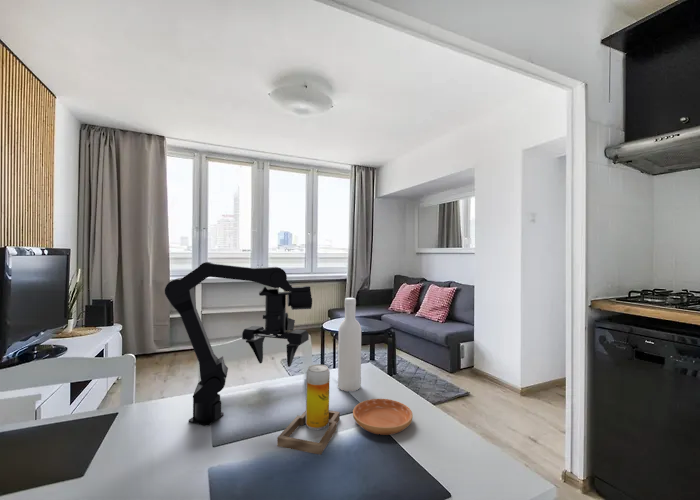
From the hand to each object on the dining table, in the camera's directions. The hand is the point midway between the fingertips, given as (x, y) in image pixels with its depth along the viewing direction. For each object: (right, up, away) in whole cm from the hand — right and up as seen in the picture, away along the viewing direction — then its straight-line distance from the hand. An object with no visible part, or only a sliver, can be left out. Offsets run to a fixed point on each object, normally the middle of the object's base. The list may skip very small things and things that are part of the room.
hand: (274, 364), depth 94 cm
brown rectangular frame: (+12, -13, -11) cm, 21 cm away
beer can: (+13, -13, -8) cm, 20 cm away
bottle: (+21, -14, +16) cm, 30 cm away
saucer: (+30, -14, -6) cm, 34 cm away
